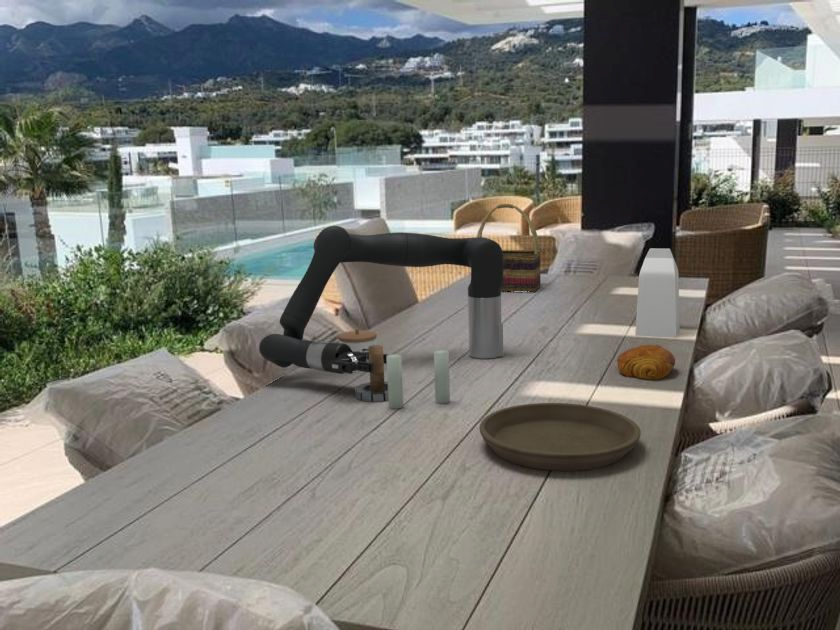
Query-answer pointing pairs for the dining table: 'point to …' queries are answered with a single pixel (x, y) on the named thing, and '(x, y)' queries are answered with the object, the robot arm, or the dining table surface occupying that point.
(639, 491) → the dining table surface
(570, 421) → the plant saucer
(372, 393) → the ring
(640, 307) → the milk
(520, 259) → the basket
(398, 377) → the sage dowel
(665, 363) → the croissant
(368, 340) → the lidded jar
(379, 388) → the walnut dowel
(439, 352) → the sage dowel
